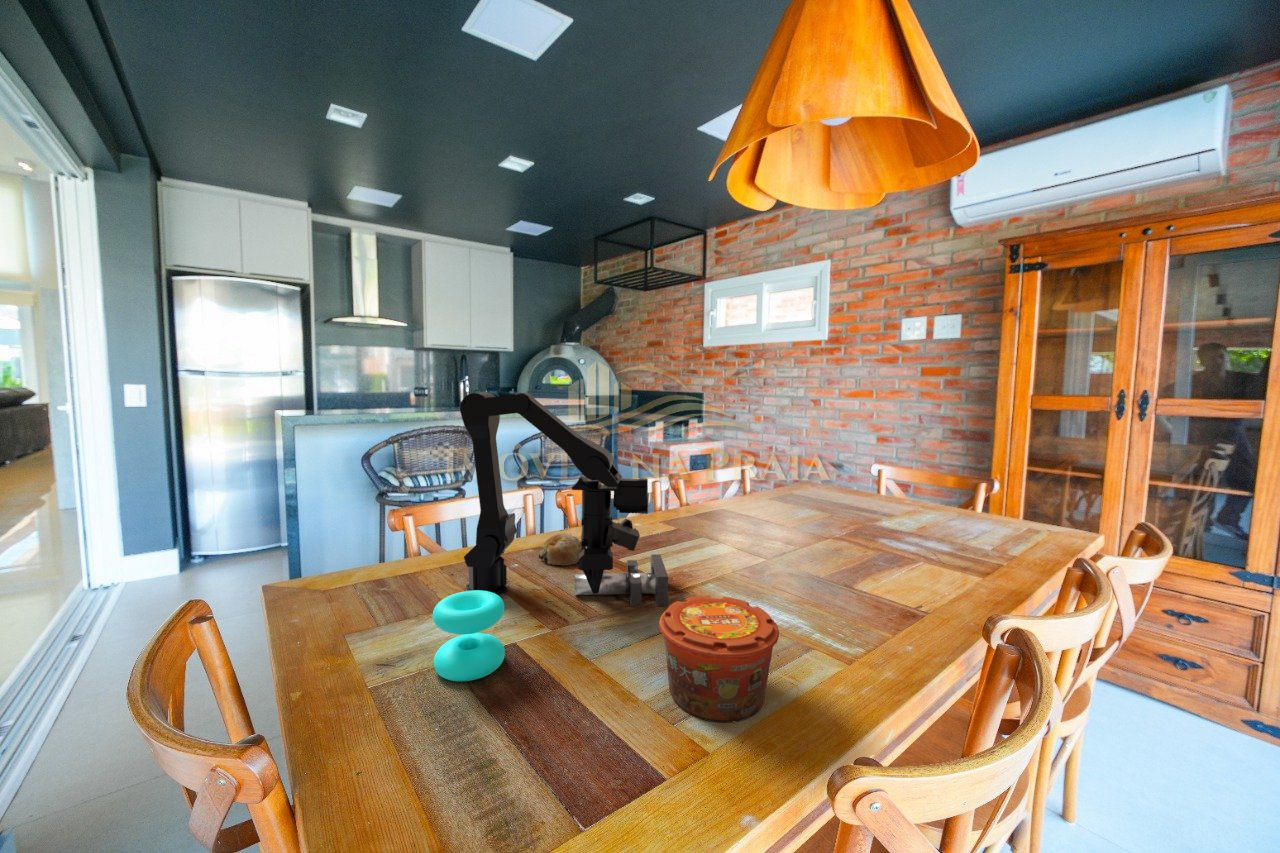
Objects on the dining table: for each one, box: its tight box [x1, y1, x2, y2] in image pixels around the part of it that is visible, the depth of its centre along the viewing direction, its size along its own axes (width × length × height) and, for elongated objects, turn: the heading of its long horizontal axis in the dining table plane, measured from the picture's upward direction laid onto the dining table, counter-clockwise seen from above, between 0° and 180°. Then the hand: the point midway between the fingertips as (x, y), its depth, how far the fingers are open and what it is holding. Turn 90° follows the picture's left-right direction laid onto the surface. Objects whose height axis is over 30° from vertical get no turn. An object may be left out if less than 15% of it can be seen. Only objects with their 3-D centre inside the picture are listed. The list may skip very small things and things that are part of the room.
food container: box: [658, 595, 780, 723], centre depth 70 cm, size 16×16×11 cm
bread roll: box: [538, 533, 582, 566], centre depth 122 cm, size 10×10×8 cm
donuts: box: [432, 590, 506, 682], centre depth 76 cm, size 10×10×10 cm
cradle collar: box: [626, 559, 643, 608], centre depth 103 cm, size 2×12×4 cm, turn 5°
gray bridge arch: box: [650, 553, 669, 607], centre depth 104 cm, size 2×12×6 cm, turn 5°
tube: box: [574, 572, 656, 596], centre depth 103 cm, size 16×4×4 cm, turn 95°
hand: (595, 588), depth 103 cm, fingers closed on tube, 4 cm apart
